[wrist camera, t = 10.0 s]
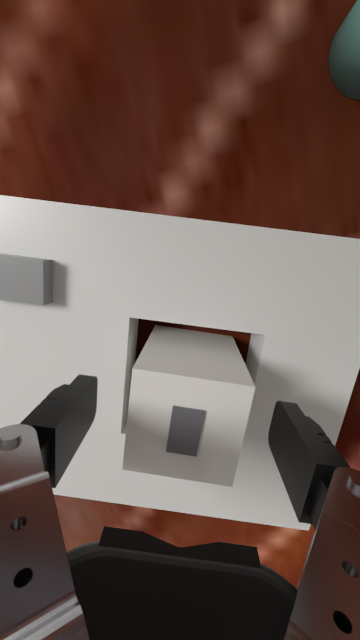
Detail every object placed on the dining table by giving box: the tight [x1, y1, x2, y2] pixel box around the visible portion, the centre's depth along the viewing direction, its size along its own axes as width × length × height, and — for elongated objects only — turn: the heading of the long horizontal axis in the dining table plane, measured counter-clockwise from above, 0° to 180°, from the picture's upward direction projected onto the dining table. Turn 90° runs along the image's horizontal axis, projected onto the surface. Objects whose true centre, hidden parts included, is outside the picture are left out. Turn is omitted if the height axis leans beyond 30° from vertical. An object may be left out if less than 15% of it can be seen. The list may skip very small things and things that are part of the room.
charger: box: [122, 325, 255, 487], centre depth 13 cm, size 4×4×6 cm
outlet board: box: [0, 195, 360, 531], centre depth 14 cm, size 20×16×3 cm
